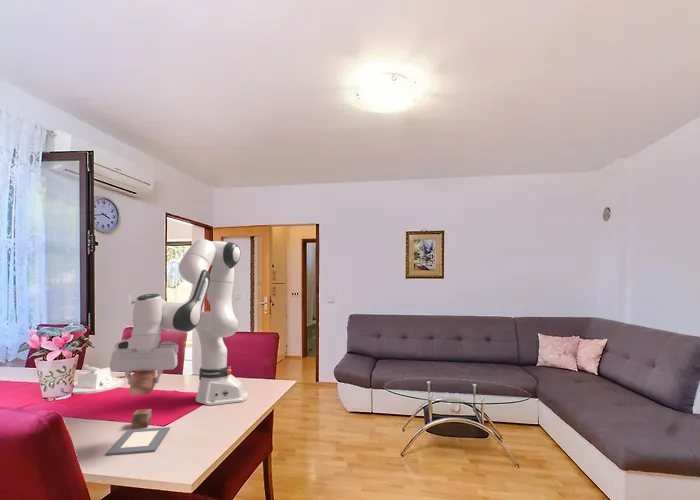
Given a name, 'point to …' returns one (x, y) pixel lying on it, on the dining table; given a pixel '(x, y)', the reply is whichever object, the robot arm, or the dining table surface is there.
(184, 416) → the dining table surface
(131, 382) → the terracotta block
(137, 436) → the build mat
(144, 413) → the walnut cube
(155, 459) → the dining table surface
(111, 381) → the dish
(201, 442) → the dining table surface
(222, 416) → the dining table surface
